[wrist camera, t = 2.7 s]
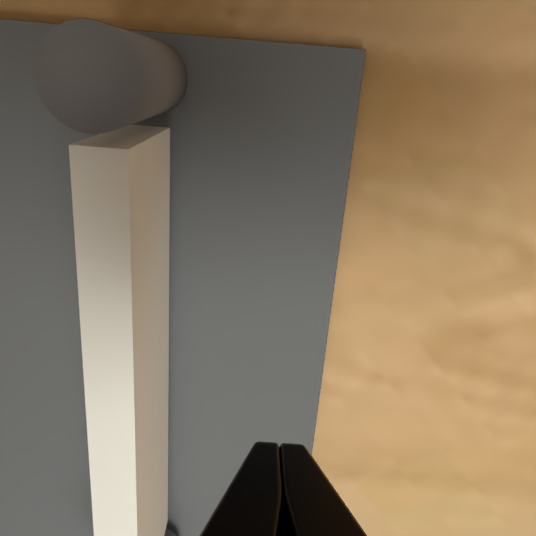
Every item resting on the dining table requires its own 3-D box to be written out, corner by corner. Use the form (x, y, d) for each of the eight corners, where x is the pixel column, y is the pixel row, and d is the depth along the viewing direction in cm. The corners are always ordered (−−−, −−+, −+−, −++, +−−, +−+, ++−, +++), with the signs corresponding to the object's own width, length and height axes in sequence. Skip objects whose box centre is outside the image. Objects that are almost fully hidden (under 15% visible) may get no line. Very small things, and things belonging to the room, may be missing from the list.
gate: (179, 565, 21) (153, 714, 16) (126, 562, 21) (83, 711, 16) (187, 128, 15) (147, 155, 10) (111, 122, 14) (32, 146, 10)
